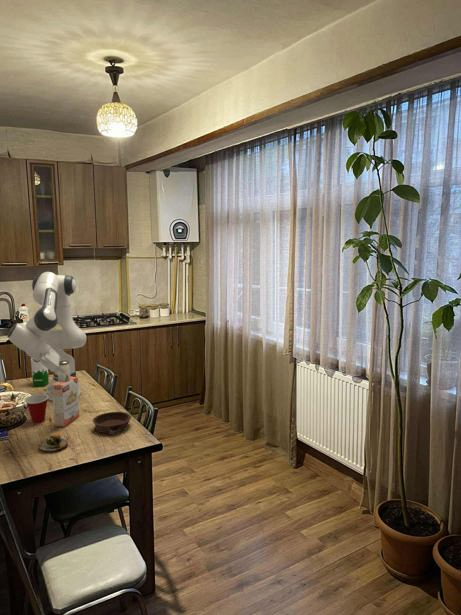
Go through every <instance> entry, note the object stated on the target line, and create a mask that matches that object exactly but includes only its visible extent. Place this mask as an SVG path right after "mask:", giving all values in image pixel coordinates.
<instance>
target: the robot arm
mask: <svg viewBox="0 0 461 615" xmlns="http://www.w3.org/2000/svg"><path fill="white" fill-rule="evenodd" d="M31 287H32V298H33V300H34V301H35V302H36V303H37V304H38V305H40V306H41V307H40V308H39V309H38V310H37V311H36V312H35V313H34V314H33V315H32V317H30V318H29V319H28V320H26V321H25V322H21V323H18V322H16V323H14V324H13V325H12V326H11V328H10V329H9V330H8V331H7V335H6V336H7V339H8V340H9V341H10V342H11V343H12V344H13V345H14V346H15V347H17V348H18V349H19V350H21V351H23V352H25V353H26V355H27V356H29V358H30V359H31V358H33V359H34V360H35V361H39V360H40V361H41V363H42V364H43V365H44V366H45V367H47V368H48V371H50V372H52V375H53V376H52V377H53V378H52V380H51V381H50V382H49V383H48V384H47V387H46V390H47V391H45V392H43V394H46V395H48V399H47V400H49V401H52V402H53V389H52V385H53V384H55V383H57V382H58V371H59V372H61V373H63V374H64V373H65V372H66V370H65V369H64V368H62V367H60V365H59V361H62V360H68V361H70V363H69V364H70V377H77V371H76V367H75V366H76V364H75V362H76V361H75V358H74V357H73V356H72V355H71V354H69V353H67V352H65V351H64V350H66V349H67V350H70V349H78V348H83V347H84V346H85V344H86V343H87V339H88V338H87V335H86V332H85V331H84V330H83V329H81V328H80V327H78V325H77V324H76V323H75V321H74V318H73V316H72V307H71V298H70V296H71V295H73V294H74V293H75V291H76V288H77V283H76V280H75V278H74V277H73V276H72V275H69V274H66V275H64V274H63V275H61V274H55V273H54V272H51V271H45V272H42V273H40V276H39V275H38V276H36V277H34V279H32V284H31ZM57 325H59V326H60V328H61V329H53V328H55V327H56V326H57ZM79 383H80V382H79V381H78V396H80V394H82V392H83V391H82V390H80V384H79Z"/></svg>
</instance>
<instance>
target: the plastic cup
mask: <svg viewBox="0 0 461 615" xmlns="http://www.w3.org/2000/svg"><path fill="white" fill-rule="evenodd" d="M48 400H49V399H48V395H46V394H44V393H37V394H32V395H30V396H27V397H26V398H25V399H24V402H25V403H26V405H27V409H28V411H29V415H30V418H31V421H32V423H34V424H38V423H42V422H45V421H46V413H47V406H48V405H47V404H48Z"/></svg>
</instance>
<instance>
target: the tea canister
mask: <svg viewBox="0 0 461 615" xmlns="http://www.w3.org/2000/svg"><path fill="white" fill-rule="evenodd" d="M69 363H70V361H68V360H62V361H59V365H60V367H62V368H64V369H65V370H66V372H65V373H64V374H63V373H61V372H59V371H58V382H61V383H64V382H69V381H70V380H71V379H70V364H69Z"/></svg>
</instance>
